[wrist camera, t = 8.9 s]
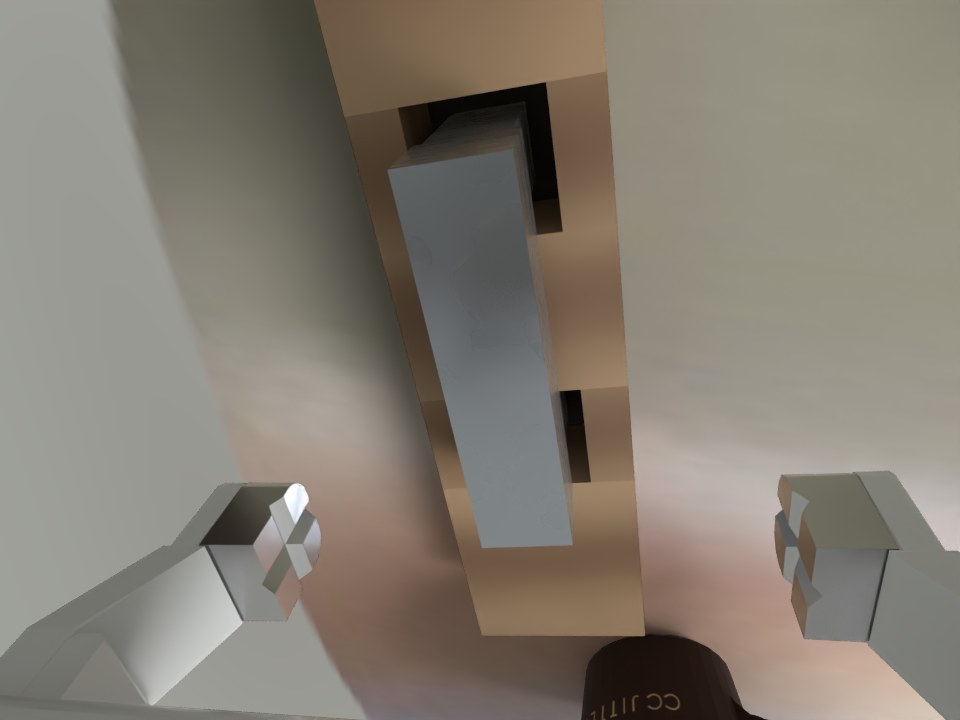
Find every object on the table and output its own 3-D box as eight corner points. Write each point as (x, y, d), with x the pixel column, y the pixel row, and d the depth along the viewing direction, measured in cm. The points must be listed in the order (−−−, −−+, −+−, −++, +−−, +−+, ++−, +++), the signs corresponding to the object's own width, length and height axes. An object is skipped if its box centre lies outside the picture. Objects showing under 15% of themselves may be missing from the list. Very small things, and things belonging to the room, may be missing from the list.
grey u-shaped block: (573, 408, 21) (572, 545, 16) (504, 413, 22) (481, 548, 16) (532, 99, 16) (513, 149, 11) (445, 115, 17) (387, 170, 12)
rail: (637, 569, 25) (645, 635, 22) (490, 572, 26) (481, 635, 23) (572, -345, 12) (572, -434, 10) (294, -259, 13) (229, -318, 11)
